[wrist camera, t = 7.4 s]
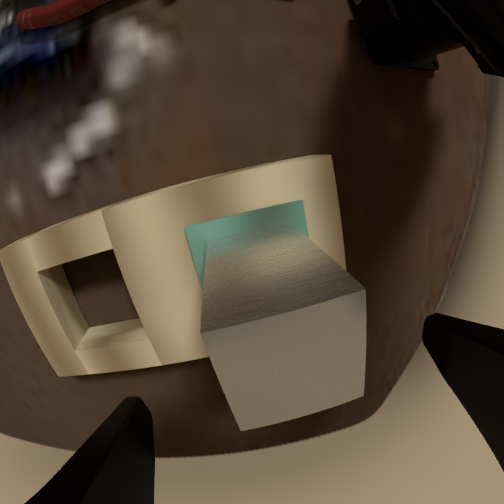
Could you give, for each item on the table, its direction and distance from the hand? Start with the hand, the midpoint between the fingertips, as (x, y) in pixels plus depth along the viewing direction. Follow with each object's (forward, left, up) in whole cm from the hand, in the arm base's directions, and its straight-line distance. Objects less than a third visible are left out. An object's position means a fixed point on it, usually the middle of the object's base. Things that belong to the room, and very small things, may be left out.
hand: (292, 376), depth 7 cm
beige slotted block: (+5, 0, -11) cm, 12 cm away
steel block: (0, 0, -8) cm, 8 cm away
